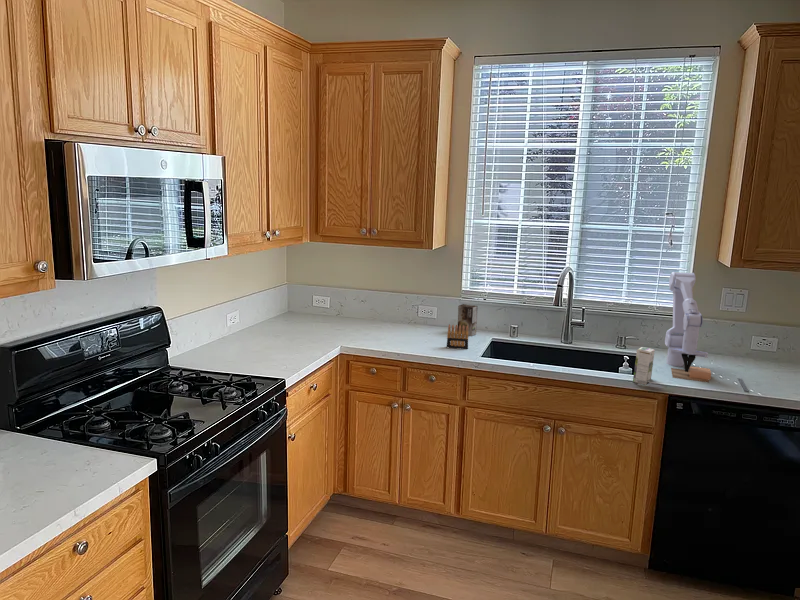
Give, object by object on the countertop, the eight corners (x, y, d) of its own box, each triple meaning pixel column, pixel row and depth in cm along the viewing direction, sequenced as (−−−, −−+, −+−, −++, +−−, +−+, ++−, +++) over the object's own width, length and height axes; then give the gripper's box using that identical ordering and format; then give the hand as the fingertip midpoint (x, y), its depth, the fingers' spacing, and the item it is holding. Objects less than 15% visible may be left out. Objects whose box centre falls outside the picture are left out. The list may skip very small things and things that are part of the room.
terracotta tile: (688, 372, 256) (689, 366, 256) (708, 375, 253) (709, 368, 253) (689, 377, 250) (690, 370, 249) (710, 379, 247) (711, 373, 246)
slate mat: (706, 375, 259) (706, 374, 259) (741, 379, 254) (742, 378, 253) (710, 386, 242) (710, 385, 242) (748, 392, 237) (748, 391, 237)
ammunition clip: (446, 347, 291) (447, 324, 289) (446, 346, 293) (447, 323, 291) (467, 349, 290) (469, 325, 287) (467, 348, 291) (469, 324, 289)
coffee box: (476, 334, 321) (478, 305, 318) (471, 336, 316) (473, 307, 313) (461, 331, 326) (463, 303, 323) (456, 333, 321) (458, 305, 318)
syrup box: (636, 379, 250) (640, 346, 247) (651, 382, 246) (655, 349, 243) (632, 382, 245) (636, 348, 243) (647, 385, 242) (650, 351, 239)
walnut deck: (670, 371, 263) (670, 367, 263) (705, 375, 258) (705, 372, 258) (672, 380, 249) (672, 377, 248) (708, 385, 243) (709, 382, 243)
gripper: (672, 340, 250) (668, 371, 252) (710, 345, 244) (706, 376, 247) (671, 337, 256) (668, 366, 259) (708, 341, 251) (704, 371, 253)
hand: (686, 371), depth 253 cm, fingers closed
